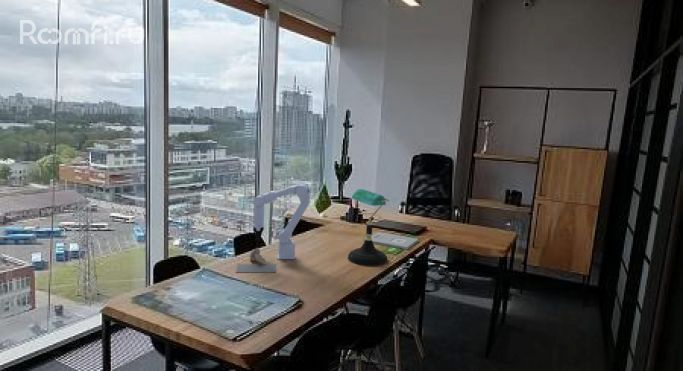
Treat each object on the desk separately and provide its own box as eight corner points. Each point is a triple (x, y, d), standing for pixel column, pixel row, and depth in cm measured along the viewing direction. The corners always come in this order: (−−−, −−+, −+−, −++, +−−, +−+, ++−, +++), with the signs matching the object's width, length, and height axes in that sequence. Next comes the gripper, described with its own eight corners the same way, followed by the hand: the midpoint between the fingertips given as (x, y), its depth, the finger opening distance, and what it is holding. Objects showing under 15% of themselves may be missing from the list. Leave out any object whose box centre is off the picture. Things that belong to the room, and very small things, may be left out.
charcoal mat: (275, 264, 234) (275, 264, 234) (275, 272, 222) (275, 271, 222) (238, 264, 231) (238, 264, 231) (236, 272, 219) (236, 272, 219)
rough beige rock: (255, 266, 230) (256, 253, 228) (247, 258, 242) (248, 245, 241) (266, 265, 232) (266, 252, 231) (257, 257, 245) (258, 244, 244)
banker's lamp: (339, 254, 258) (342, 188, 252) (372, 251, 268) (376, 187, 262) (361, 268, 234) (366, 196, 229) (396, 264, 245) (401, 195, 239)
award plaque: (377, 234, 310) (378, 231, 310) (418, 241, 297) (418, 238, 296) (363, 242, 288) (364, 239, 288) (406, 250, 275) (406, 247, 275)
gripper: (252, 213, 251) (251, 236, 253) (251, 219, 237) (250, 243, 239) (264, 214, 252) (264, 236, 254) (264, 219, 238) (263, 243, 240)
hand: (258, 240), depth 247 cm, fingers closed
